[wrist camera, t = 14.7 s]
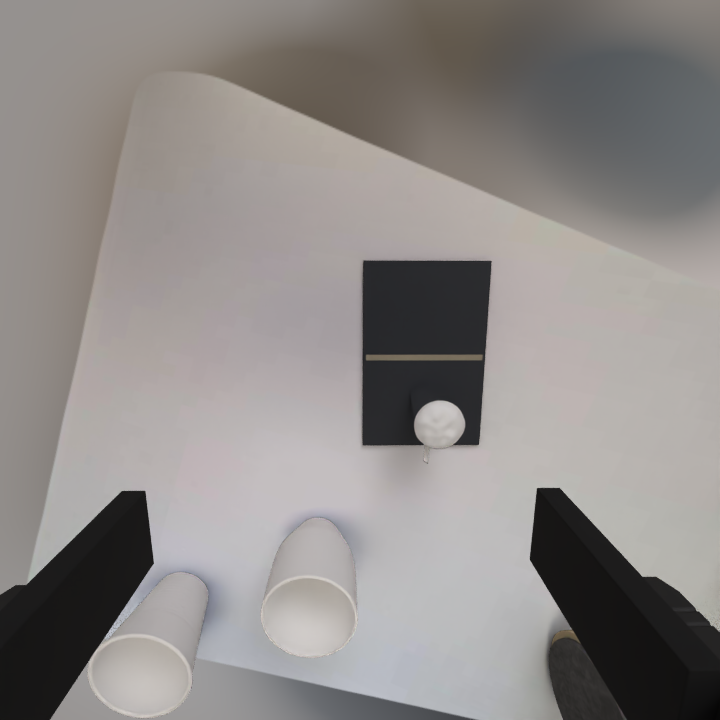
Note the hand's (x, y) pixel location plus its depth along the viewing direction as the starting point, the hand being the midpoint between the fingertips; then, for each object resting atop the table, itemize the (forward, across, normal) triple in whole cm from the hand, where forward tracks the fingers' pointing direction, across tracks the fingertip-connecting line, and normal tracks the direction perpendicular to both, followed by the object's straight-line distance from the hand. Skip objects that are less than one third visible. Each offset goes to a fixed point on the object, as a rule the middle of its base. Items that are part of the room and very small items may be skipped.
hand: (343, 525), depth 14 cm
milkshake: (+31, +8, -6) cm, 33 cm away
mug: (+32, -4, -24) cm, 40 cm away
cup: (+32, -20, -30) cm, 48 cm away
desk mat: (+32, +8, -1) cm, 33 cm away
